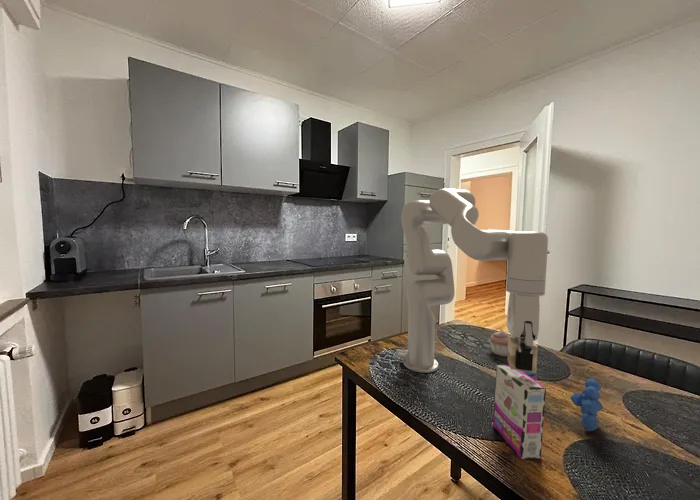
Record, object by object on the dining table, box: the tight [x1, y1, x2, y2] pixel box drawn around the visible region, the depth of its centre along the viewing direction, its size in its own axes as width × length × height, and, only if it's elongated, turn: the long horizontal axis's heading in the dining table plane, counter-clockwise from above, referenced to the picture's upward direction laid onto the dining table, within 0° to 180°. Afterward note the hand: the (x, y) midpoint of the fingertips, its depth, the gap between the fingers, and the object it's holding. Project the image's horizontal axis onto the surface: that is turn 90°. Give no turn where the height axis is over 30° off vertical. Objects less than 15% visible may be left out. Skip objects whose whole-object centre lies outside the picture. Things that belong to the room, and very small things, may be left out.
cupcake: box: [488, 329, 510, 358], centre depth 117 cm, size 9×9×10 cm
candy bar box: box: [492, 364, 547, 460], centre depth 68 cm, size 11×5×16 cm, turn 5°
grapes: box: [569, 378, 604, 432], centre depth 75 cm, size 12×7×12 cm, turn 139°
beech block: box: [506, 335, 539, 374], centre depth 67 cm, size 5×5×6 cm
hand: (520, 362), depth 67 cm, fingers closed on beech block, 4 cm apart
